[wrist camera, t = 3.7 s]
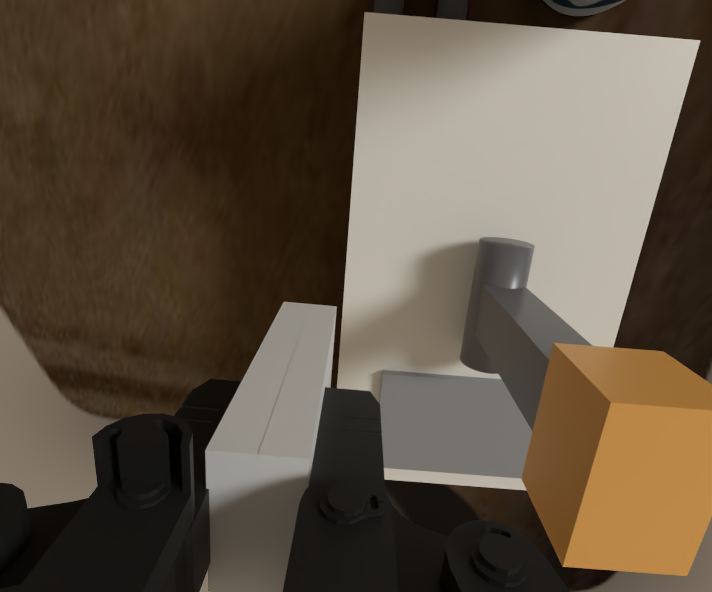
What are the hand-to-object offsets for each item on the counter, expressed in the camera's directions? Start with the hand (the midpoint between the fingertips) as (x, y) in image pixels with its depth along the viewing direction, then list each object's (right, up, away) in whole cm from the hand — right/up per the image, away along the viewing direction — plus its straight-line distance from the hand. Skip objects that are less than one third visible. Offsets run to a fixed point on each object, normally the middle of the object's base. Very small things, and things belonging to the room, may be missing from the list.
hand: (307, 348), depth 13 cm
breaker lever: (+7, +1, +5) cm, 8 cm away
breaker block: (+7, +4, +13) cm, 15 cm away
